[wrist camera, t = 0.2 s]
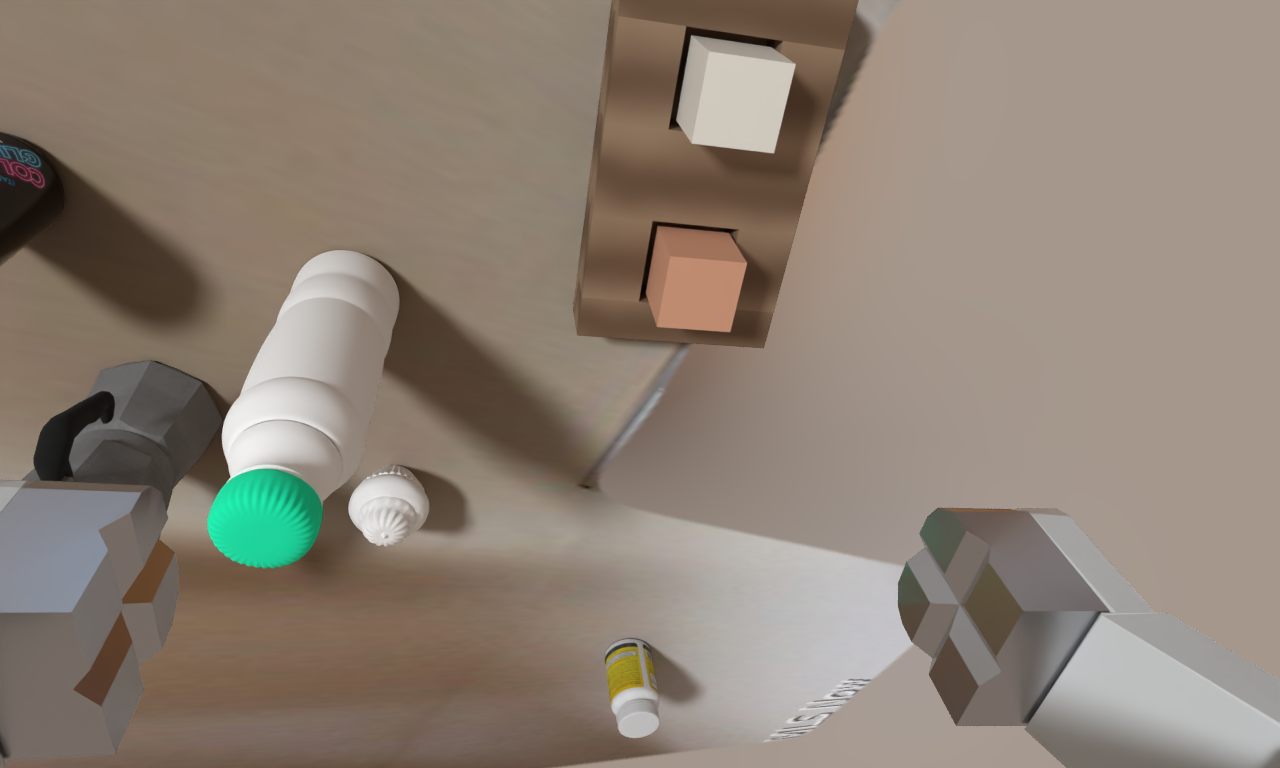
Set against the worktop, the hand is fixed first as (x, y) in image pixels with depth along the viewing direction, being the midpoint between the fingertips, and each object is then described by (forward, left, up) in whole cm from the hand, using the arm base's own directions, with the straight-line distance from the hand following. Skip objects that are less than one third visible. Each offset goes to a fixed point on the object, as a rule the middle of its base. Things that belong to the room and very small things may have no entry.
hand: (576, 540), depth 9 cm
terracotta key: (+15, +13, -44) cm, 48 cm away
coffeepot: (+31, -24, -47) cm, 62 cm away
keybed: (+9, +13, -47) cm, 50 cm away
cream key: (+3, +13, -44) cm, 46 cm away
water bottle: (+21, -10, -47) cm, 53 cm away
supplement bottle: (+60, +16, -47) cm, 78 cm away
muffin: (+38, -7, -47) cm, 61 cm away
